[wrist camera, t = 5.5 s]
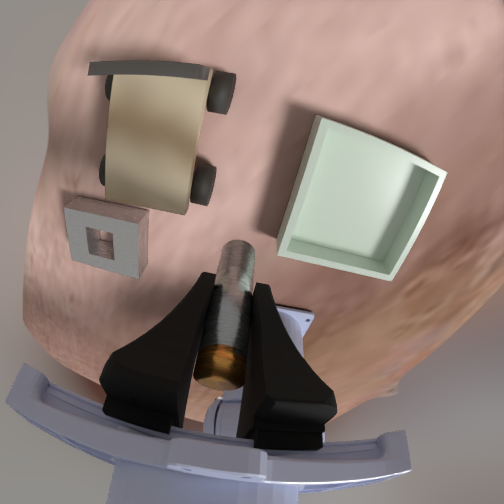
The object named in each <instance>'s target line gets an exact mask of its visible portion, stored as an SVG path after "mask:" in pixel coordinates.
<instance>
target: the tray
mask: <svg viewBox="0 0 504 504" xmlns="http://www.w3.org/2000/svg"><path fill="white" fill-rule="evenodd" d="M446 174H447V172H445V171H444V170H442V169H441V168H439V167H438V166H436V165H434V164H433V163H431V162H429V161H427V160H425V159H423V158H421V157H419V156H417V155H415V154H413V153H411V152H409V151H407V150H405V149H403V148H401V147H399V146H397V145H394V144H392V143H390V142H388V141H385V140H383V139H381V138H378V137H376V136H374V135H371V134H369V133H366V132H364V131H361V130H359V129H356V128H353V127H351V126H348V125H345V124H343V123H340V122H337V121H334V120H331V119H328V118H325V117H322V116H319V115H315V118H314V121H313V125H312V128H311V131H310V135H309V138H308V141H307V144H306V148H305V151H304V154H303V157H302V161H301V164H300V167H299V170H298V173H297V177H296V180H295V183H294V186H293V189H292V192H291V196H290V199H289V202H288V205H287V208H286V211H285V214H284V217H283V220H282V224H281V227H280V230H279V233H278V236H277V255H278V256H283V257H287V258H291V259H296V260H300V261H305V262H309V263H313V264H318V265H322V266H327V267H331V268H335V269H340V270H344V271H348V272H353V273H357V274H362V275H366V276H370V277H375V278H379V279H383V280H388V281H392V280H393V278H394V276H395V275H396V273H397V271H398V270H399V268H400V266H401V265H402V263H403V261H404V259H405V258H406V256H407V254H408V252H409V251H410V249H411V247H412V245H413V243H414V242H415V240H416V238H417V236H418V234H419V232H420V230H421V228H422V226H423V224H424V222H425V220H426V218H427V216H428V214H429V212H430V210H431V208H432V206H433V204H434V202H435V200H436V197H437V195H438V193H439V191H440V188H441V186H442V184H443V182H444V179H445V177H446Z"/></svg>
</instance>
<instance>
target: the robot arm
mask: <svg viewBox="0 0 504 504" xmlns="http://www.w3.org/2000/svg"><path fill="white" fill-rule="evenodd" d="M215 279H216V274H212V273H207V272H203V273H201V275H200V277H199V279H198V280H197V282H196V283H195V285H194V286H193V287H192V289H191V290H190V291H189V292H188V294H187V295H186V296H185V297H184V298H183V300H182V301H181V302H180V303H179V304H178V305H177V306H176V307H175V308H174V309H173V310H172V311H171V312H170V313H169V314H168V315H167V316H166V317H165V318H164V319H163V320H162V321H160V322H159V323H158V324H157V325H155V326H154V327H153V328H152V329H150V330H149V331H148V332H146V333H145V334H143V335H142V336H140V337H139V338H137V339H136V340H134V341H133V342H131V343H129V344H128V345H126V346H124V347H122V348H120V349H118V350H116V351H114V352H113V353H112V354H111V356H110V357H109V359H108V361H107V362H106V364H105V366H104V368H103V371H102V373H101V376H100V379H99V381H100V384H101V386H102V387H103V389H104V391H105V393H106V394H107V397H106V400H105V403H104V405H101V404H99V403H96V402H94V401H91V400H89V399H87V398H84V397H82V396H80V395H77V394H75V393H73V392H71V391H68V390H66V389H64V388H62V387H60V386H58V385H56V384H54V383H52V382H50V381H49V380H48V378H47V377H46V376H45V374H43V373H42V372H41V371H39V370H37V369H35V368H34V367H32V366H30V365H28V364H26V363H23V365H22V367H21V369H20V371H19V373H18V375H17V377H16V379H15V381H14V383H13V385H12V387H11V389H10V392H9V394H8V396H7V398H6V403H7V404H8V405H9V406H10V407H11V408H12V409H14V410H15V411H16V412H17V413H18V414H20V415H21V416H22V417H23V418H25V419H26V420H27V421H28V422H30V423H31V424H33V425H35V426H36V427H38V428H40V429H41V430H43V431H45V432H46V433H48V434H50V435H52V436H54V437H55V438H57V439H59V440H61V441H63V442H65V443H67V444H69V445H70V446H73V447H74V448H76V449H78V450H81V451H83V452H85V453H87V454H89V455H91V456H94V457H96V458H98V459H101V460H103V461H105V462H108V463H110V464H113V465H115V467H114V472H113V475H112V480H111V484H110V488H109V493H108V498H107V503H106V504H298V493H311V492H321V491H330V490H337V489H344V488H351V487H356V486H362V485H367V484H372V483H376V482H381V481H385V480H388V479H390V478H393V477H396V476H399V475H402V474H404V473H407V472H409V471H411V470H412V468H411V460H410V454H409V448H408V442H407V437H406V432H405V430H400V431H393V432H387V433H384V434H383V435H380V436H379V437H377V438H375V439H366V440H355V441H340V442H325V426H324V425H325V423H327V422H328V421H329V420H331V419H332V418H333V417H334V416H335V415H336V414H337V404H336V399H335V396H334V392H333V390H332V389H331V388H330V387H328V386H327V385H326V384H325V383H324V382H323V381H322V380H321V379H320V378H319V377H318V375H317V374H316V373H315V372H314V371H313V370H312V368H311V367H310V366H309V365H308V363H307V362H306V361H305V359H304V356H303V344H302V338H303V336H304V334H305V333H306V331H307V329H308V327H309V326H310V324H311V322H312V321H313V319H314V313H313V312H308V311H303V310H297V309H292V308H286V307H281V306H276V304H275V302H274V299H273V295H272V292H271V288H270V286H269V285H267V284H262V283H257V282H256V286H255V289H254V292H253V296H252V304H251V317H250V330H249V342H248V355H247V368H246V380H245V384H244V386H242V387H241V388H239V389H236V390H230V391H224V392H223V399H216V400H215V401H214V402H213V403H212V404H211V405H210V406H209V408H208V410H207V412H206V415H205V419H204V427H203V433H202V432H197V431H192V430H187V429H182V428H183V421H184V416H185V410H186V404H187V399H188V394H189V388H190V383H191V378H192V373H193V368H194V363H195V360H196V356H197V353H198V350H199V345H200V341H201V337H202V332H203V328H204V323H205V319H206V315H207V311H208V307H209V304H210V301H211V297H212V293H213V289H214V285H215Z"/></svg>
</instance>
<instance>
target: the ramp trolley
mask: <svg viewBox="0 0 504 504" xmlns="http://www.w3.org/2000/svg"><path fill="white" fill-rule="evenodd" d="M213 70H214V69H211V68H208V67H205V66H202V65H199V64H192V63H181V62H167V61H103V62H90V65H89V71H88V76H89V75H108V76H107V79H106V84H105V92H106V96H107V98H108V100H109V101H110V106H109V115H108V126H107V140H106V154H105V155H104V157H103V159H102V161H101V164H100V169H99V179H100V182H101V184H102V185H103V186H105V199H107V200H112V201H117V202H122V203H127V204H132V205H137V206H142V207H147V208H152V209H157V210H161V211H166V212H171V213H176V214H180V215H185V214H186V212H187V210H188V207H189V199H190V202H191V203H195V204H200V205H205V206H207V205H208V204H209V201H210V198H211V195H212V191H213V187H214V182H215V177H216V167H214V166H209V165H204V164H199V165H198V167H197V169H196V171H195V174H194V178H193V172H194V166H195V160H196V154H197V148H198V142H199V137H200V131H201V126H202V121H203V116H204V111H205V106H206V101H207V111H208V112H214V113H220V114H225V115H226V114H227V112H228V110H229V107H230V104H231V101H232V97H233V93H234V89H235V83H236V74H234V73H228V72H222V71H216V73H215V74H214V76H213V78H212V74H213ZM211 78H212V81H211ZM210 83H211V84H210ZM209 87H210V88H209ZM207 96H208V97H207ZM192 179H193V181H192ZM191 185H192V186H191Z"/></svg>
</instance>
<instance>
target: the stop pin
mask: <svg viewBox="0 0 504 504" xmlns="http://www.w3.org/2000/svg"><path fill="white" fill-rule="evenodd" d="M254 265H255V250H254V248H253V247H252V246H251V245H250V244H249V243H248V242H246V241H243V240H232V241H229V242H228V243H226V244H225V245H224V247H223V249H222V252H221V256H220V260H219V265H218V269H217V273H216V279H215V285H214V289H213V293H212V297H211V301H210V304H209V307H208V311H207V315H206V319H205V323H204V328H203V332H202V337H201V341H200V345H199V350H198V355H197V359H196V364H195V368H194V373H193V376H194V379H195V380H196V381H197V382H198V383H200V384H201V385H203V386H205V387H208V388H211V389H215V390H222V391H230V390H236V389H239V388H241V387H242V386H244V384H245V380H246V368H247V355H248V342H249V330H250V317H251V304H252V291H253V278H254Z"/></svg>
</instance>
